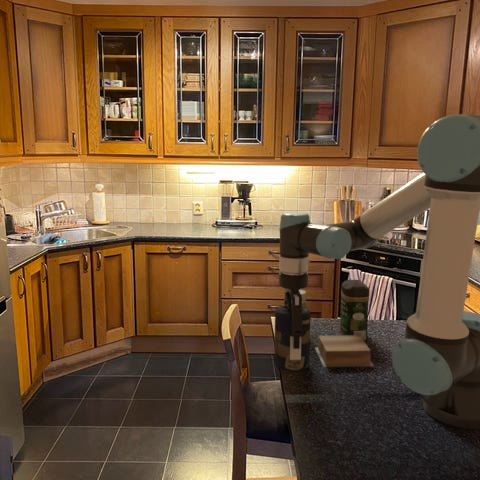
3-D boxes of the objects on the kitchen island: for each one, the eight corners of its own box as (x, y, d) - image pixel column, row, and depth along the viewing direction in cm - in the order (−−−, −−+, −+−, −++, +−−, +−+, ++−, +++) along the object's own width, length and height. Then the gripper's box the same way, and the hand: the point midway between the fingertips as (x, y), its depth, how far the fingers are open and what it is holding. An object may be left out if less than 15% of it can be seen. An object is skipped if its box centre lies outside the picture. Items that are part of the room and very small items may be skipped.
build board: (377, 377, 126) (378, 372, 126) (321, 378, 126) (321, 373, 125) (359, 349, 144) (359, 344, 144) (309, 349, 143) (309, 345, 143)
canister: (289, 357, 138) (290, 297, 135) (316, 368, 131) (318, 304, 128) (266, 368, 131) (267, 304, 128) (294, 379, 125) (295, 313, 121)
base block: (370, 364, 130) (370, 350, 130) (325, 365, 130) (326, 351, 129) (359, 348, 141) (359, 335, 140) (318, 348, 141) (318, 335, 140)
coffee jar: (336, 333, 156) (338, 277, 153) (361, 332, 157) (363, 277, 153) (344, 345, 147) (346, 286, 143) (370, 344, 147) (373, 285, 144)
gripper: (316, 284, 114) (313, 368, 118) (300, 260, 138) (299, 331, 143) (285, 284, 114) (283, 369, 118) (274, 260, 138) (273, 331, 142)
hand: (292, 348), depth 130 cm, fingers open, 12 cm apart
